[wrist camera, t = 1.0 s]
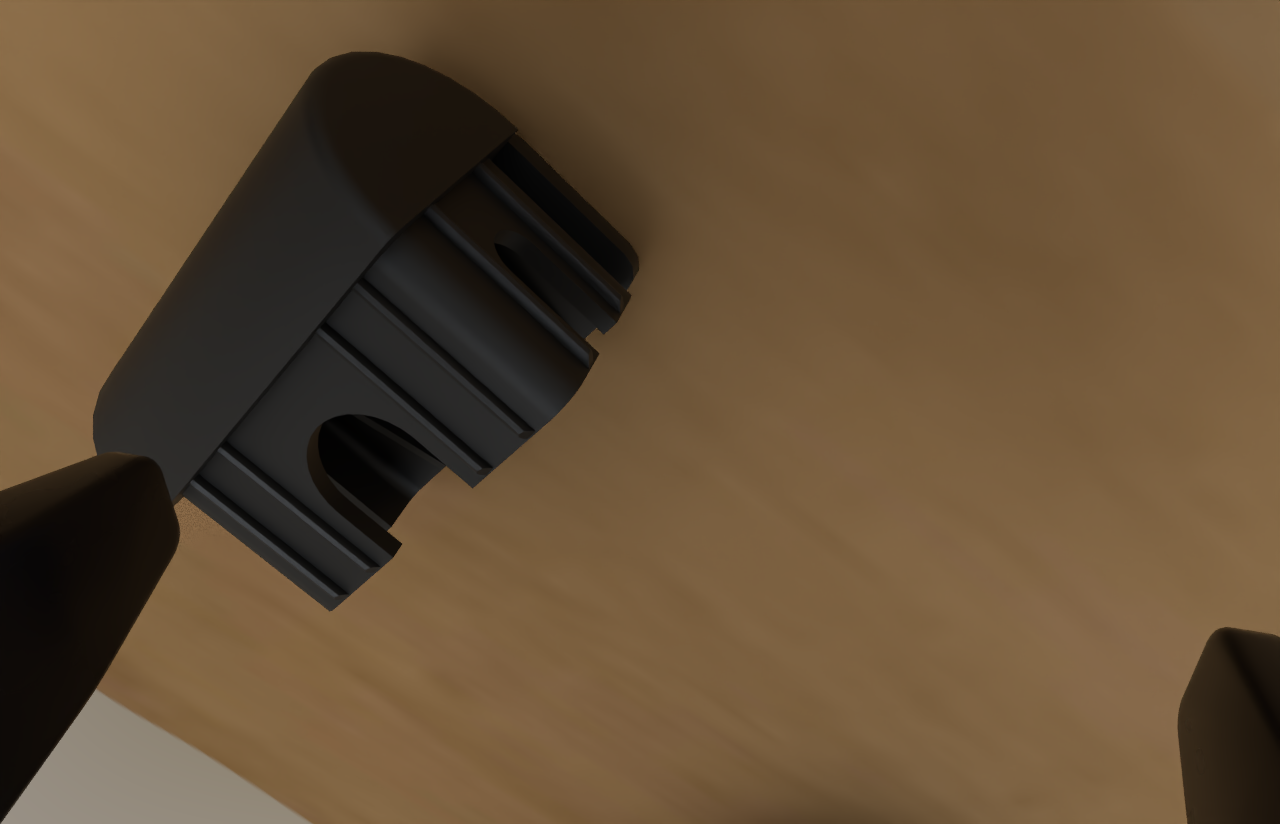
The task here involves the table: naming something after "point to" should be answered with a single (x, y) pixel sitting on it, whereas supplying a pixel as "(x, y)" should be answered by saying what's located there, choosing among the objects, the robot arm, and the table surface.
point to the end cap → (366, 320)
